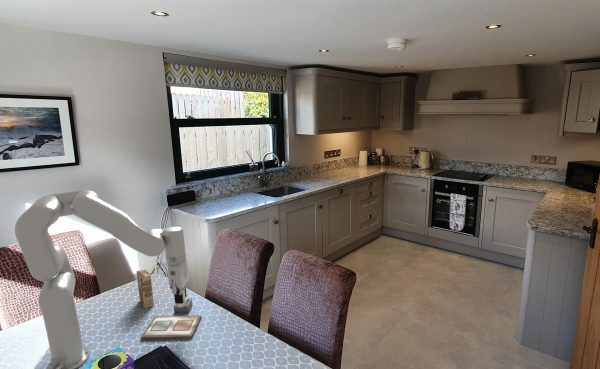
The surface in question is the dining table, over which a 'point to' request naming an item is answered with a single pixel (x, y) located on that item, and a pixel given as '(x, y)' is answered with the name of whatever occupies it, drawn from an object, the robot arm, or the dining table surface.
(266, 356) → the dining table surface
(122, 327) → the dining table surface
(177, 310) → the button housing
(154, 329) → the picture board
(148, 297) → the candy box
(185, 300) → the cylinder
